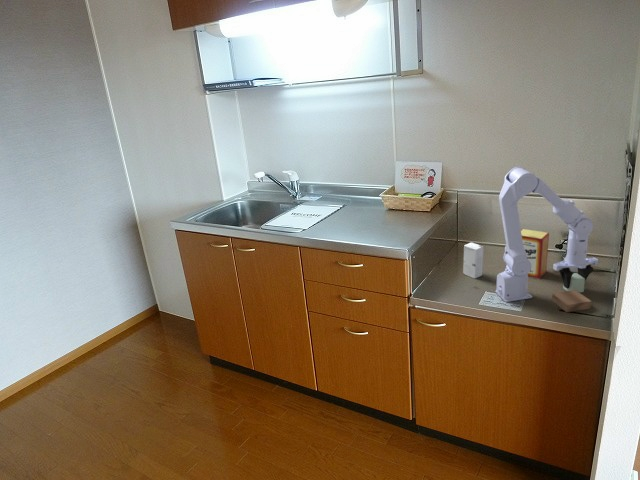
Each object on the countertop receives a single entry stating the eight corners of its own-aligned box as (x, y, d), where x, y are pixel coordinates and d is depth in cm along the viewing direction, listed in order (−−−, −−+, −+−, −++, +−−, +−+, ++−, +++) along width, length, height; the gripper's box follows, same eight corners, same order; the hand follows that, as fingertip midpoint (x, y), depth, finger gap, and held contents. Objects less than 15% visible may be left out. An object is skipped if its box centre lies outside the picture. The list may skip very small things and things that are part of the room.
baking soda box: (513, 272, 174) (515, 233, 169) (520, 266, 179) (522, 227, 173) (539, 278, 168) (542, 238, 162) (546, 271, 172) (549, 232, 166)
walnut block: (566, 313, 146) (567, 305, 145) (551, 301, 154) (552, 293, 153) (590, 309, 147) (591, 301, 146) (574, 297, 154) (575, 289, 153)
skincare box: (462, 273, 178) (462, 245, 174) (470, 270, 180) (470, 241, 176) (475, 279, 173) (475, 249, 169) (483, 275, 175) (484, 246, 171)
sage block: (570, 293, 156) (572, 280, 154) (562, 287, 160) (564, 274, 158) (583, 291, 156) (584, 278, 154) (575, 285, 160) (576, 273, 158)
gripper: (563, 257, 148) (560, 294, 153) (606, 250, 149) (601, 288, 154) (550, 249, 155) (548, 285, 160) (591, 243, 156) (587, 279, 161)
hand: (573, 286), depth 157 cm, fingers closed on sage block, 4 cm apart
